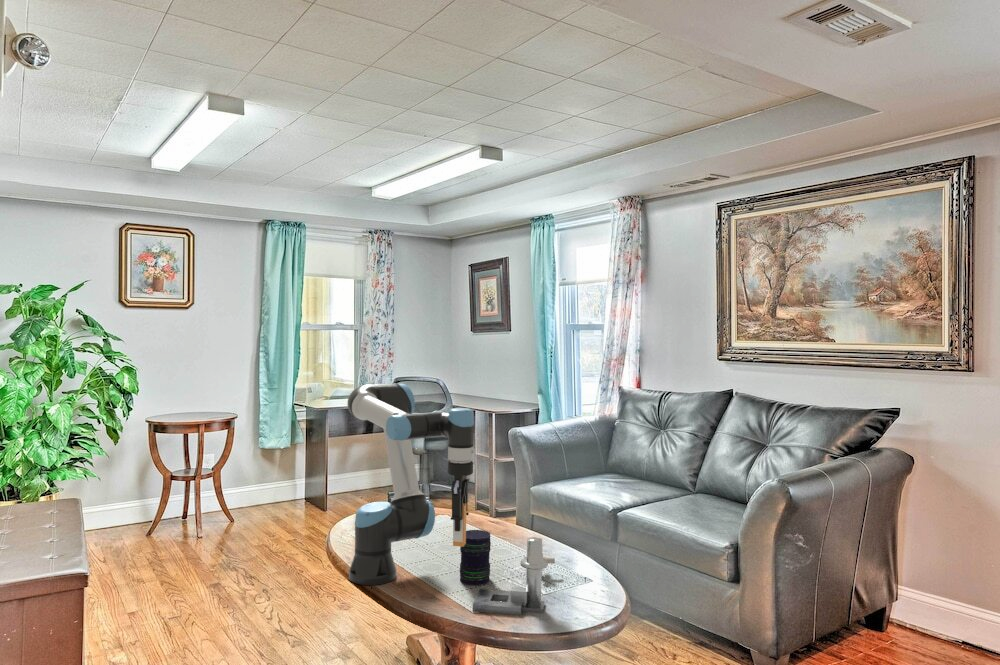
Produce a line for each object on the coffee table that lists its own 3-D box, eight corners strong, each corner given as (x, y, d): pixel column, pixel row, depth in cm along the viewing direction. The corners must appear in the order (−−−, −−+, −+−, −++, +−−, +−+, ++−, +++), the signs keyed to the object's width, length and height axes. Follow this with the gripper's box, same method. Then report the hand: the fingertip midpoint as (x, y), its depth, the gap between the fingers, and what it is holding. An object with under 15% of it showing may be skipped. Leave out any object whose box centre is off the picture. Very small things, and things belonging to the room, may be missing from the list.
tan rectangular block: (452, 545, 206) (453, 505, 206) (455, 542, 210) (456, 502, 209) (463, 546, 206) (464, 506, 206) (465, 543, 209) (466, 503, 209)
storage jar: (496, 580, 226) (497, 534, 226) (475, 588, 219) (476, 540, 218) (474, 572, 233) (475, 527, 232) (453, 580, 225) (453, 534, 225)
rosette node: (472, 611, 201) (473, 542, 201) (480, 595, 213) (481, 530, 213) (545, 617, 198) (546, 546, 198) (548, 600, 210) (550, 534, 210)
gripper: (467, 466, 199) (466, 548, 199) (478, 456, 215) (477, 532, 215) (441, 465, 200) (440, 547, 200) (454, 455, 216) (453, 530, 216)
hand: (459, 539), depth 208 cm, fingers closed on tan rectangular block, 3 cm apart
